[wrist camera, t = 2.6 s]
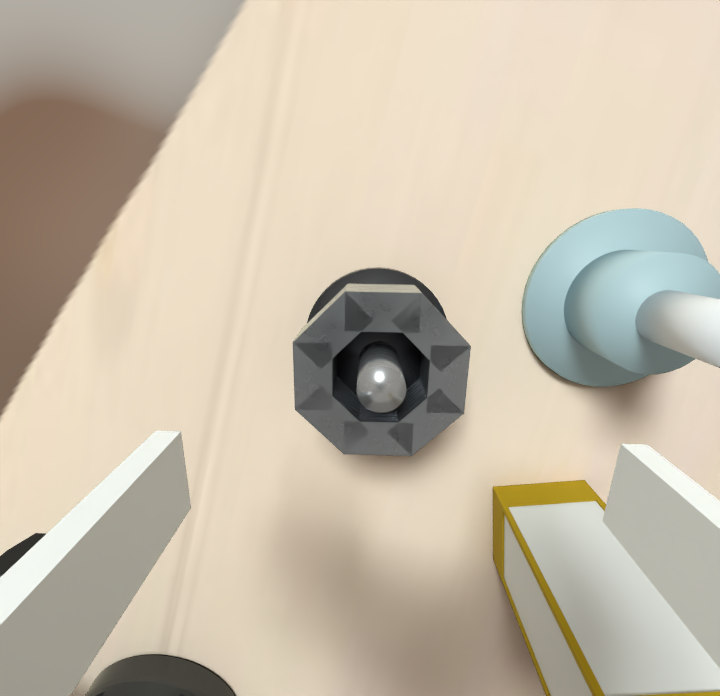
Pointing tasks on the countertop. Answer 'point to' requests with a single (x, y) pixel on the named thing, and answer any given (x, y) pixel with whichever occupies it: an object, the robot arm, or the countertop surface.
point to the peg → (623, 299)
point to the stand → (377, 347)
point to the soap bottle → (589, 600)
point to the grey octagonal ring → (423, 398)
